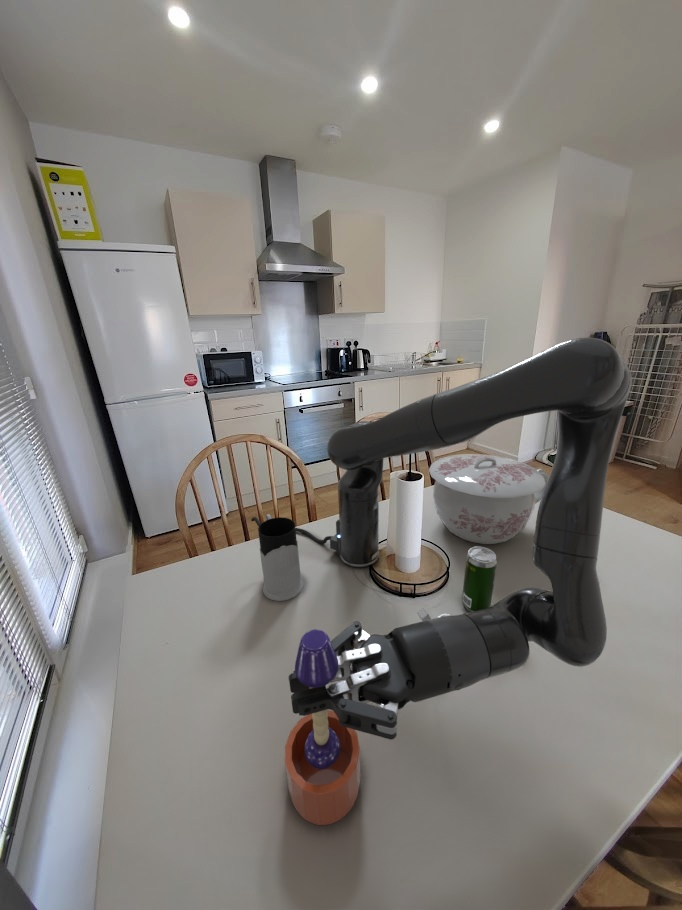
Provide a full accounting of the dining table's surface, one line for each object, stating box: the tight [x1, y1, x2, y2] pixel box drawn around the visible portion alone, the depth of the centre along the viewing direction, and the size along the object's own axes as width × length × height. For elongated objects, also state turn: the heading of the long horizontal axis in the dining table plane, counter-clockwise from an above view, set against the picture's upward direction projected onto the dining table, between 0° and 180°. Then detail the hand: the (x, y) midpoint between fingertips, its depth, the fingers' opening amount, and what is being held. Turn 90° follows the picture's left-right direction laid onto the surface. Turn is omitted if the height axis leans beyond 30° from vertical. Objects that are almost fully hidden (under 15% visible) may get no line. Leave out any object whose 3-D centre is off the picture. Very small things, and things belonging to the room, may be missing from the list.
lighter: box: [416, 607, 453, 622], centre depth 61 cm, size 7×2×8 cm, turn 111°
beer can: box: [461, 546, 498, 612], centre depth 69 cm, size 5×5×12 cm
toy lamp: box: [294, 628, 340, 769], centre depth 39 cm, size 5×5×17 cm
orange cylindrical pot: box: [284, 709, 361, 826], centre depth 43 cm, size 9×9×6 cm
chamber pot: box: [428, 453, 550, 545], centre depth 92 cm, size 28×28×21 cm
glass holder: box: [257, 513, 304, 602], centre depth 77 cm, size 9×14×15 cm, turn 24°
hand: (291, 694), depth 38 cm, fingers closed on toy lamp
